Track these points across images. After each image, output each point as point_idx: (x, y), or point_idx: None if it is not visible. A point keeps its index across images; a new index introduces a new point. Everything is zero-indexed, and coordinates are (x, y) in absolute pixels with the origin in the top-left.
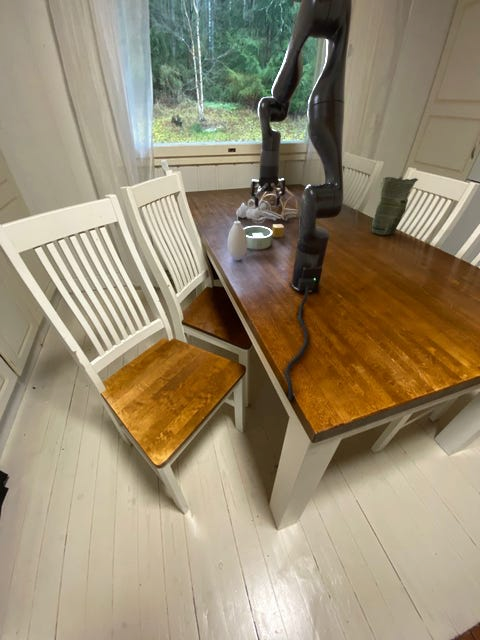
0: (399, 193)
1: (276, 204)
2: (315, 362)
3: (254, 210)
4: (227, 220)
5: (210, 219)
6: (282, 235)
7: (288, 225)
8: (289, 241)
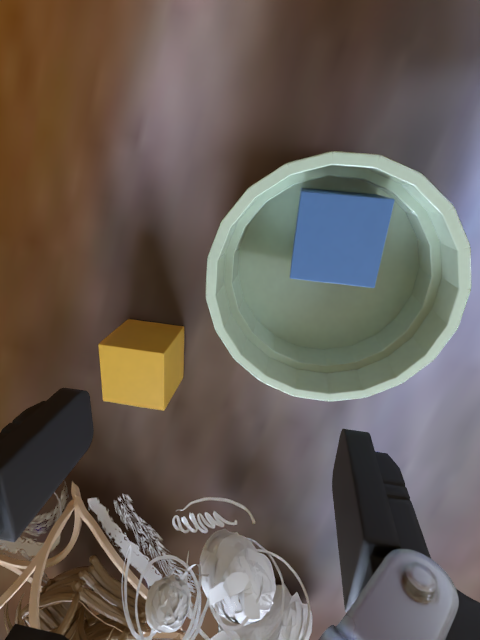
0: None
1: (70, 399)
2: None
3: (232, 589)
4: None
5: None
6: (129, 322)
7: None
8: (105, 246)
